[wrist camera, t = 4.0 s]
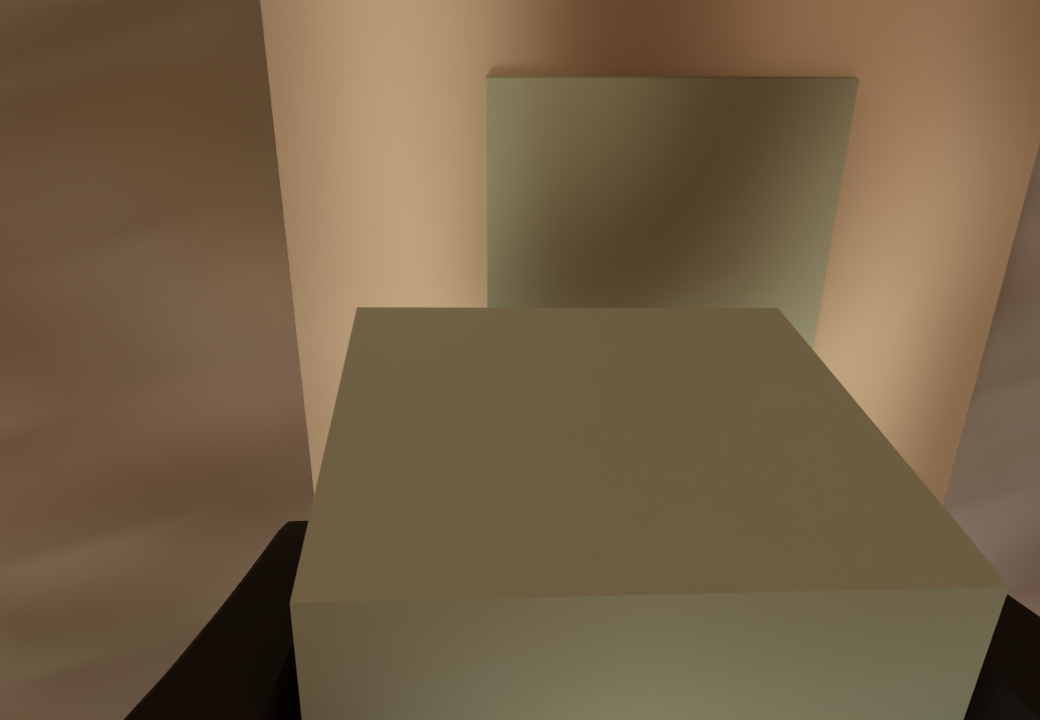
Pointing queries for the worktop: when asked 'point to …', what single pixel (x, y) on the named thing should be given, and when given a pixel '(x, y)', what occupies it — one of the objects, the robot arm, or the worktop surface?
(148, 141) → the worktop surface
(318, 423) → the birch base block
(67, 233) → the worktop surface
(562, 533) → the sage block
